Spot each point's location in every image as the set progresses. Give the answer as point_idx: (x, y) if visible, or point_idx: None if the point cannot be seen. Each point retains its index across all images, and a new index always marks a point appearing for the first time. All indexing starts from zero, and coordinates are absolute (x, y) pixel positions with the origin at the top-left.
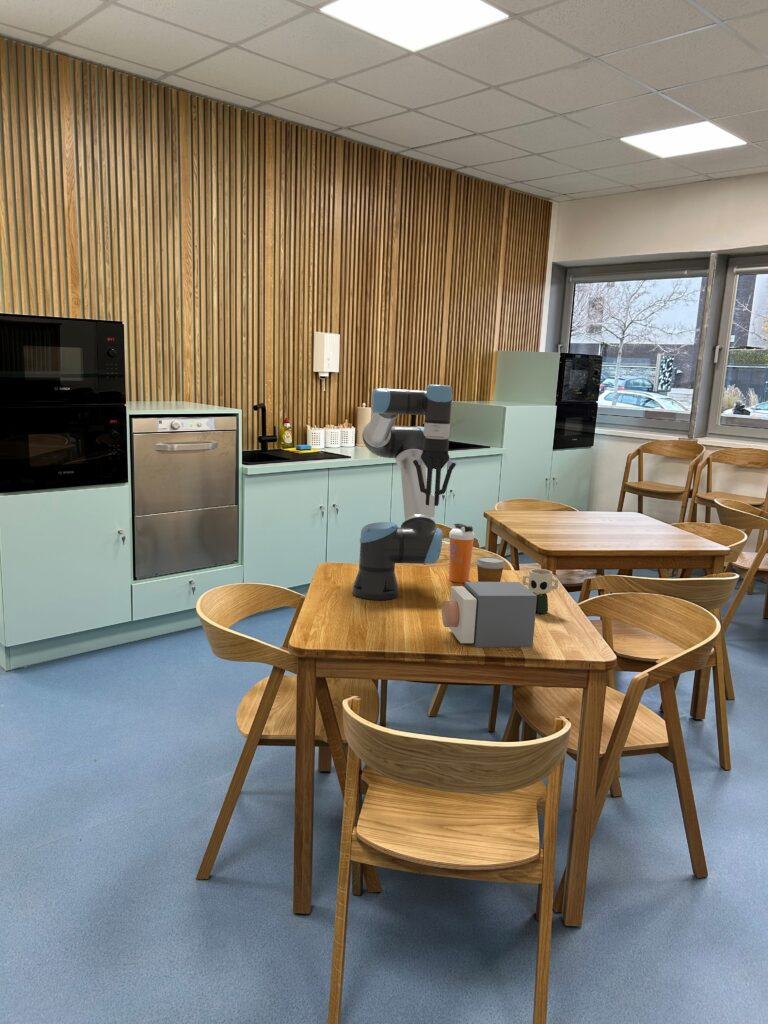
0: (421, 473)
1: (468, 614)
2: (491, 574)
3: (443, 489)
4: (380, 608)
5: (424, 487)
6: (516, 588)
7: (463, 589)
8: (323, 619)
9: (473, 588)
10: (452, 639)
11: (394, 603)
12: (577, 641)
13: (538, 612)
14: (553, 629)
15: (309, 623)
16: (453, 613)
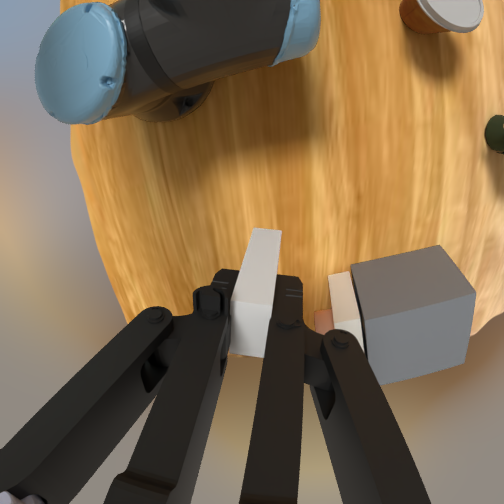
0: (94, 459)
1: None
2: (445, 30)
3: (329, 401)
4: (192, 170)
5: (161, 340)
6: (451, 337)
7: (356, 337)
8: (124, 255)
9: (371, 357)
10: (330, 306)
11: (214, 126)
12: (500, 276)
13: (497, 152)
14: (493, 230)
15: (115, 275)
16: None
